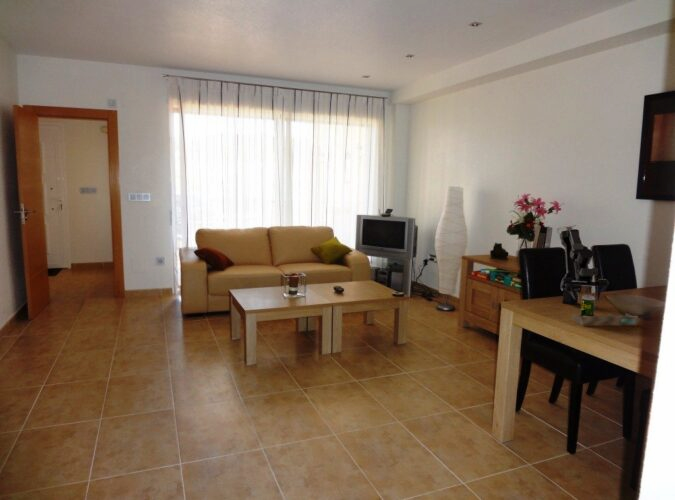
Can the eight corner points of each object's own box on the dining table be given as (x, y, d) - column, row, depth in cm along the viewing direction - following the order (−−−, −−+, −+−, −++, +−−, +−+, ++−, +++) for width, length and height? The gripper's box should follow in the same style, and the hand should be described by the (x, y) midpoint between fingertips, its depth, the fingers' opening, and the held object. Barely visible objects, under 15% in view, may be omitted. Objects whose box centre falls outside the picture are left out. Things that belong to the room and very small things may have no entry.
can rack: (581, 325, 200) (582, 316, 200) (571, 319, 209) (572, 311, 208) (637, 325, 200) (638, 316, 199) (625, 319, 209) (626, 310, 208)
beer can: (581, 319, 208) (583, 294, 207) (594, 322, 205) (596, 296, 203) (578, 322, 204) (580, 296, 203) (591, 325, 201) (593, 298, 199)
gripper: (563, 260, 210) (567, 289, 202) (609, 261, 206) (615, 291, 197) (559, 273, 219) (562, 302, 210) (602, 275, 215) (607, 304, 206)
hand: (586, 299), depth 206 cm, fingers open, 9 cm apart
